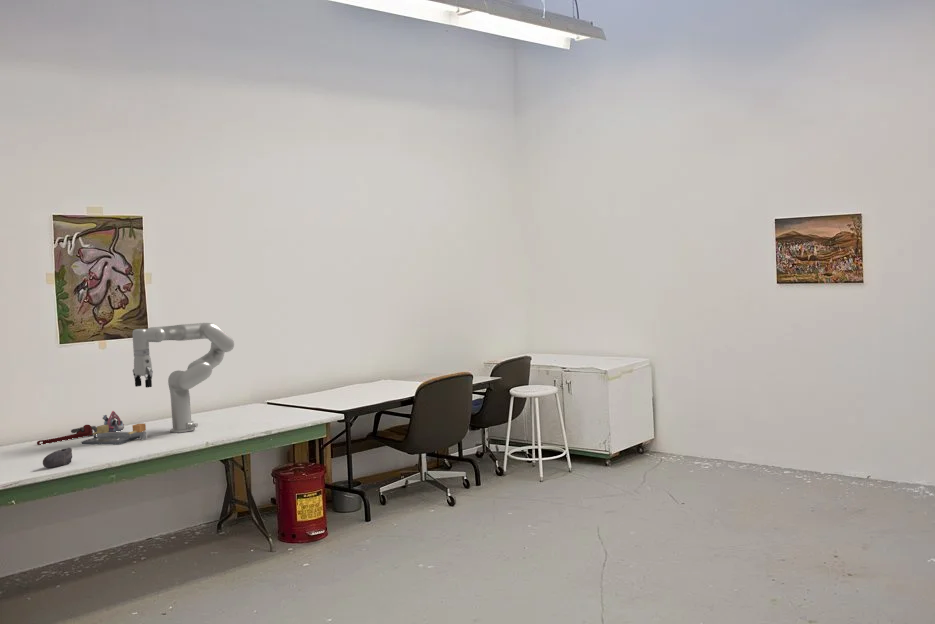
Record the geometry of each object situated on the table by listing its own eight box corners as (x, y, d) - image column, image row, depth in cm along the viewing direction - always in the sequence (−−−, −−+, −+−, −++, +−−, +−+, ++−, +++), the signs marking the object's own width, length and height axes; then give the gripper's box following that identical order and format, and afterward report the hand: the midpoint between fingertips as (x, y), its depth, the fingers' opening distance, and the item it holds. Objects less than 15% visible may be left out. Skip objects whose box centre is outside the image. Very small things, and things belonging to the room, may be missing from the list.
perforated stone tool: (47, 470, 371) (45, 454, 371) (39, 469, 374) (37, 453, 373) (77, 462, 385) (76, 447, 384) (69, 462, 387) (68, 446, 387)
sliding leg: (146, 433, 437) (145, 423, 437) (132, 437, 426) (132, 427, 426) (139, 433, 438) (138, 423, 438) (125, 437, 427) (124, 427, 427)
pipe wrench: (36, 446, 434) (97, 435, 455) (38, 446, 433) (98, 435, 453) (35, 433, 434) (95, 422, 455) (37, 433, 432) (97, 423, 453)
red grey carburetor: (118, 428, 456) (105, 411, 457) (105, 441, 458) (91, 423, 459) (131, 424, 467) (118, 407, 468) (118, 437, 469) (105, 419, 470)
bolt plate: (148, 437, 437) (147, 424, 437) (129, 444, 422) (128, 430, 422) (102, 438, 444) (101, 424, 443) (81, 444, 428) (80, 430, 428)
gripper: (157, 352, 437) (159, 386, 438) (139, 352, 448) (141, 385, 449) (143, 354, 431) (145, 388, 432) (125, 353, 442) (127, 386, 443)
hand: (143, 386), depth 440 cm, fingers open, 9 cm apart
